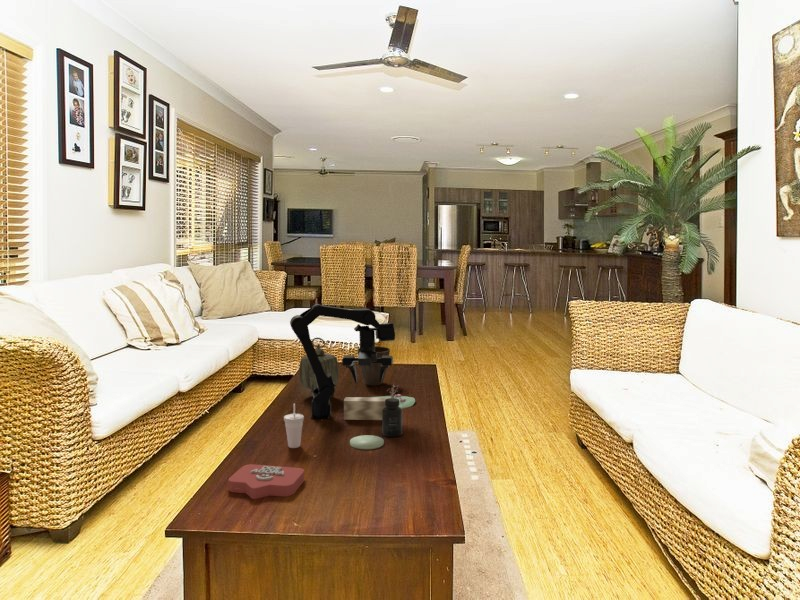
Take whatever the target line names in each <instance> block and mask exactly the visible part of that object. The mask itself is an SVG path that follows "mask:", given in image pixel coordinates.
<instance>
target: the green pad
mask: <svg viewBox="0 0 800 600" xmlns="http://www.w3.org/2000/svg"><path fill="white" fill-rule="evenodd" d="M384 444H385V441H384V438H382V437H380V436H377V435H373V434H371V435H369V434H367V435H366V434H363V435H357V436H353V437H352V438H350V439H349V446H351V447H352V448H353V449H358V450H374V449H375V450H376V449H379V448H381V447H383V446H384Z"/></svg>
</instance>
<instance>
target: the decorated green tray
mask: <svg viewBox="0 0 800 600" xmlns="http://www.w3.org/2000/svg"><path fill="white" fill-rule="evenodd" d="M395 382H396V381H394V382H393V383H395ZM399 386H400V384H399V383H398V384H397V385H396V384H393V385H391V388H390V390H389V389H387V390H386V392H388V391H389V394H390V395H385V396H384V395H383V396H382V395H381V396H370V397H371V398H388V399H389V398H396V399H399V407H400V408H401V409H402V410H403V409H407V408H411V407H412V406H414V404H415V403H416V399H415V397H411V396H404V395H402V394H399V393H398V394H395V392H397V390H399ZM395 388H396V389H395Z"/></svg>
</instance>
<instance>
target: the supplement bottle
mask: <svg viewBox="0 0 800 600" xmlns="http://www.w3.org/2000/svg"><path fill="white" fill-rule="evenodd" d="M385 406H386V407H384V408H383V410H382V420H381V421H382V422H381V423H382V424H381V426H382V427H381V433H382V435H383V436H384V437H387V438H397V437H401V436H402V434H403V409H401V408H400V407H399V399H396V398H389V399H386V400H385Z"/></svg>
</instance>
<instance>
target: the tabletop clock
mask: <svg viewBox="0 0 800 600" xmlns="http://www.w3.org/2000/svg"><path fill="white" fill-rule="evenodd" d="M315 340H320V341H322V343H323V345H322V346H321V345H320V343H319V344H314V341H315ZM311 342H312V344H313V346H314V349H315V351H316V353H317V356H318V358H319V361H320V363H321V365H322V368H323V370H324V372H325V373H326V374H328V373H330V375H331V376H332V380H333V382H334V384H335V385H336V386H334V388H335V387H337V385H338V382H339V362H338V359H337V356H335V355H333V354H330V353H326V352H325V351H324V349H323V348H324V347H325V345H326V342H325V340H324V339H323V338H322V337H321V338H320V337H314V338H312V339H311ZM299 383H300V386H302V387H303V388H305V389H309V390H310V393H311V394H312V392H313V391H314V390H315V389H316V388H317V383H316V379H315V374H314V371H313V369H312V367H311V364H310V362H309V360H308V357H307V355H306V354H305V355H303V356H302V357H301V359H300V361H299ZM333 397H335V393H334V394H333V395H332V396H331V397H330V398H333Z"/></svg>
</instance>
